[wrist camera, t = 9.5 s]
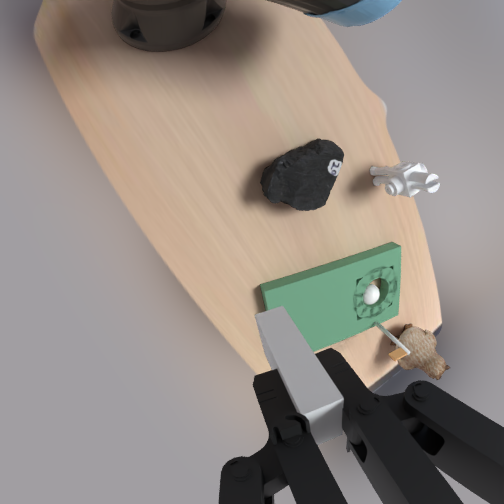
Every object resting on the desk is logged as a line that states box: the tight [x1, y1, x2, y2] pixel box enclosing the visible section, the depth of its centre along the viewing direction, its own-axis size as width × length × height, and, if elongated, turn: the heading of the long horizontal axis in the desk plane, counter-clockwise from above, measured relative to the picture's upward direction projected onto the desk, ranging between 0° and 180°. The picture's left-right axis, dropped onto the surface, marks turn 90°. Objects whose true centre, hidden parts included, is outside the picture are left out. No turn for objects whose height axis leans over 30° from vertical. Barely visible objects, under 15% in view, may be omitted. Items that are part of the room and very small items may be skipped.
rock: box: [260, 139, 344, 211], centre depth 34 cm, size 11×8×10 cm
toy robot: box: [370, 161, 440, 197], centre depth 34 cm, size 4×8×12 cm, turn 118°
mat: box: [260, 242, 410, 361], centre depth 39 cm, size 14×24×12 cm, turn 103°
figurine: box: [391, 324, 450, 380], centre depth 45 cm, size 9×10×15 cm
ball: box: [363, 284, 380, 305], centre depth 44 cm, size 4×4×4 cm
